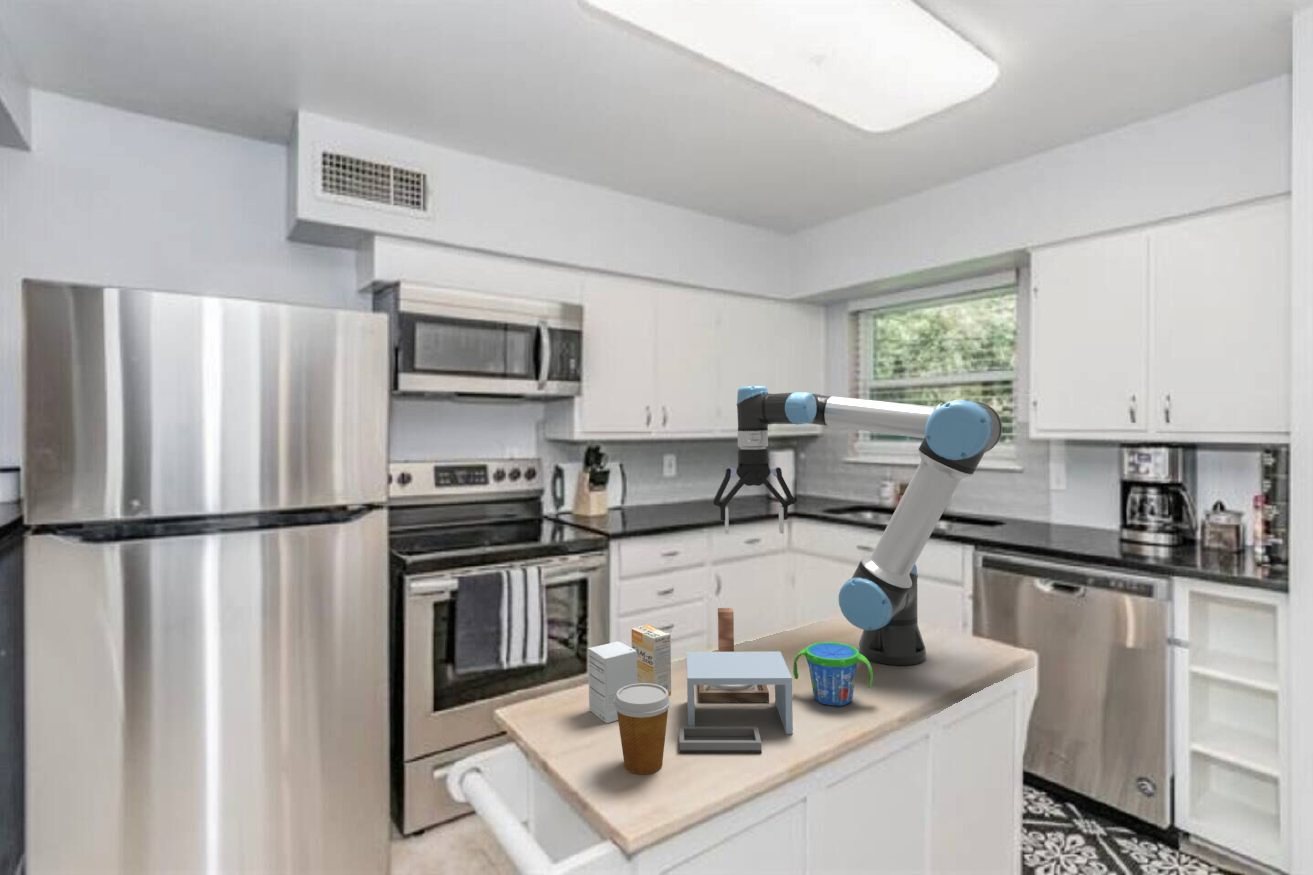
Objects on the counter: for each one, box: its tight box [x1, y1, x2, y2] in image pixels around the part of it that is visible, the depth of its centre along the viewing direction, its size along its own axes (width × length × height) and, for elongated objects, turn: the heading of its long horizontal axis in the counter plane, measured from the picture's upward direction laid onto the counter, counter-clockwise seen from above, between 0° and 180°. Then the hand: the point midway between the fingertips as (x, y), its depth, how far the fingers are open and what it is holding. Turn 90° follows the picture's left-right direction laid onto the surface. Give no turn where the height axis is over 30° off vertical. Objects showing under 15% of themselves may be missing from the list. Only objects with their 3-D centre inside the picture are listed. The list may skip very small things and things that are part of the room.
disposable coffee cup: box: [614, 683, 672, 775], centre depth 110 cm, size 10×10×12 cm
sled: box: [697, 607, 770, 703], centre depth 147 cm, size 14×26×12 cm, turn 178°
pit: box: [678, 726, 763, 754], centre depth 117 cm, size 14×6×2 cm, turn 88°
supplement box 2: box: [630, 624, 672, 696], centre depth 140 cm, size 8×5×13 cm, turn 37°
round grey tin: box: [707, 685, 757, 691], centre depth 141 cm, size 10×10×4 cm
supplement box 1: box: [587, 641, 638, 724], centre depth 131 cm, size 7×7×13 cm
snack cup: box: [792, 641, 874, 707], centre depth 135 cm, size 16×10×10 cm
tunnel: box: [686, 651, 794, 735], centre depth 128 cm, size 19×14×10 cm
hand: (754, 533), depth 167 cm, fingers open, 13 cm apart
